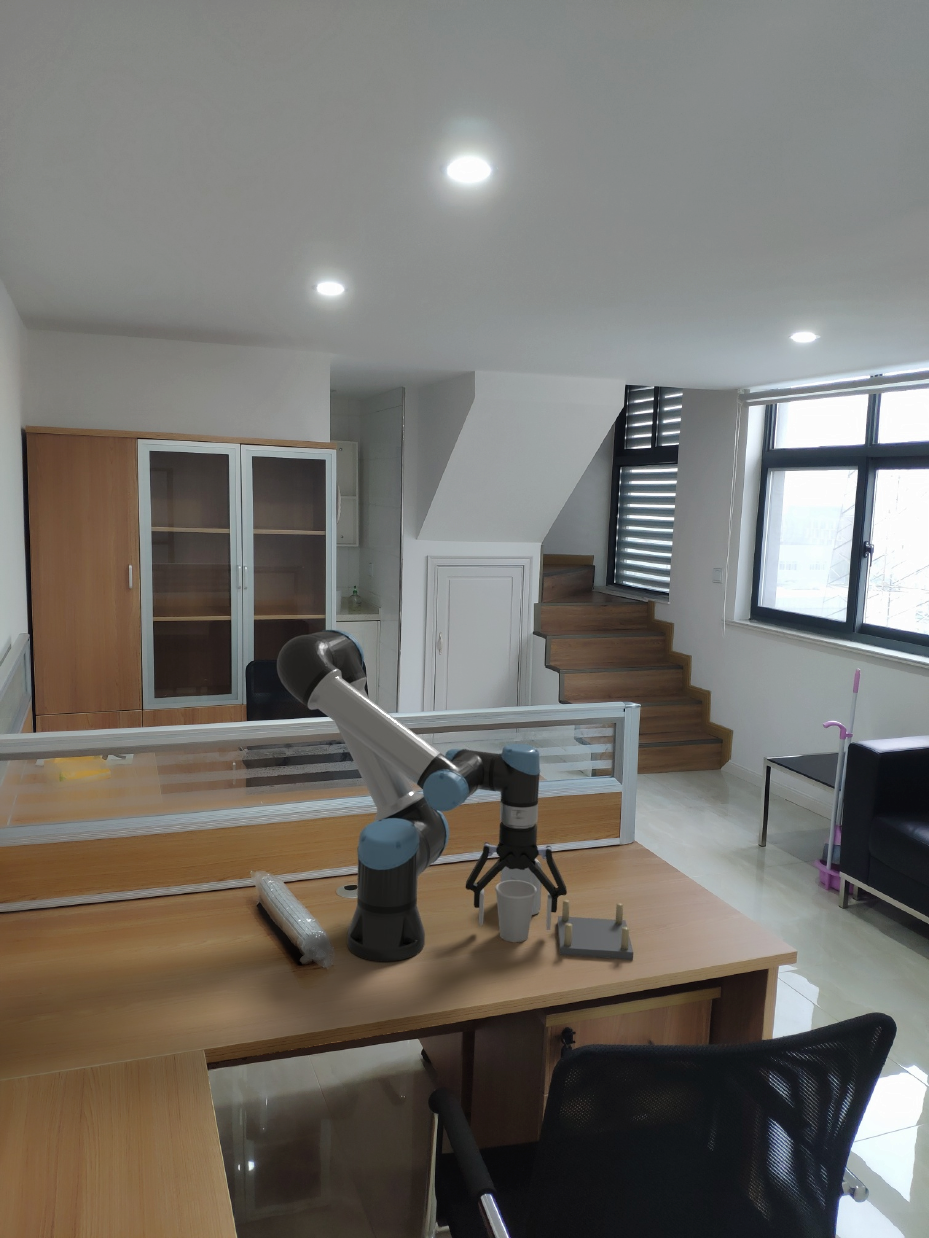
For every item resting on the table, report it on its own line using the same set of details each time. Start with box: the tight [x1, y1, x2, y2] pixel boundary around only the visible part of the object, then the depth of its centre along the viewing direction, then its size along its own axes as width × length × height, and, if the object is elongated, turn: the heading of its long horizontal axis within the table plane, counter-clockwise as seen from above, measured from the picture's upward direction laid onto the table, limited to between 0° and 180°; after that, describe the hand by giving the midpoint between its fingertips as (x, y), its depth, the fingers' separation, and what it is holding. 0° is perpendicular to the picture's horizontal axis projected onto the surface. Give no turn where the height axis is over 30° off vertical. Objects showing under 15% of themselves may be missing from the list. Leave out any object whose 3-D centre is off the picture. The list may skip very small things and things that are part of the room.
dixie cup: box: [494, 880, 537, 943], centre depth 177 cm, size 8×8×10 cm
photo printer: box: [500, 858, 543, 916], centre depth 191 cm, size 10×4×12 cm, turn 39°
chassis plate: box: [557, 899, 634, 961], centre depth 177 cm, size 14×14×6 cm
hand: (514, 924), depth 178 cm, fingers open, 13 cm apart
